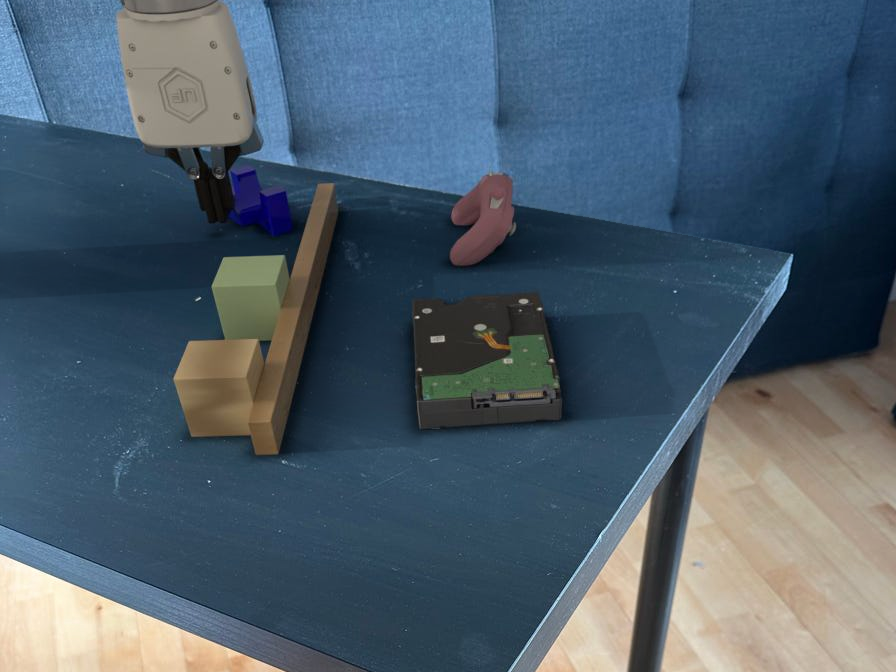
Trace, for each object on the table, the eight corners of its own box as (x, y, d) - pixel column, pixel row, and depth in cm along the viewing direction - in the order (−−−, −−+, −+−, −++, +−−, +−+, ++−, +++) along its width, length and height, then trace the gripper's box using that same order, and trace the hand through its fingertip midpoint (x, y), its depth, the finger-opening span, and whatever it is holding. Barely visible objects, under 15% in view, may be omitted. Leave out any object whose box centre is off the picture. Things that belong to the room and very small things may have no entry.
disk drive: (412, 331, 76) (419, 434, 66) (409, 299, 74) (416, 400, 64) (538, 322, 76) (565, 423, 66) (539, 289, 74) (566, 388, 64)
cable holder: (225, 216, 93) (215, 174, 90) (257, 206, 94) (248, 165, 91) (260, 244, 88) (251, 200, 85) (293, 233, 89) (285, 190, 86)
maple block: (192, 440, 67) (172, 378, 63) (206, 401, 70) (188, 340, 66) (261, 438, 66) (246, 376, 63) (272, 399, 70) (258, 338, 66)
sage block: (226, 345, 76) (211, 286, 72) (237, 314, 79) (223, 256, 75) (287, 343, 75) (275, 284, 72) (296, 312, 79) (285, 254, 75)
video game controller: (492, 285, 84) (527, 213, 79) (445, 265, 82) (478, 190, 78) (491, 237, 91) (523, 168, 86) (447, 218, 89) (478, 146, 85)
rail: (256, 458, 65) (247, 422, 63) (322, 215, 92) (317, 183, 90) (279, 458, 65) (270, 421, 63) (339, 214, 92) (334, 182, 90)
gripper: (63, 4, 73) (132, 236, 87) (252, -2, 73) (292, 232, 87) (90, -20, 78) (152, 203, 92) (267, -26, 78) (303, 199, 92)
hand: (220, 217), depth 89 cm, fingers closed
